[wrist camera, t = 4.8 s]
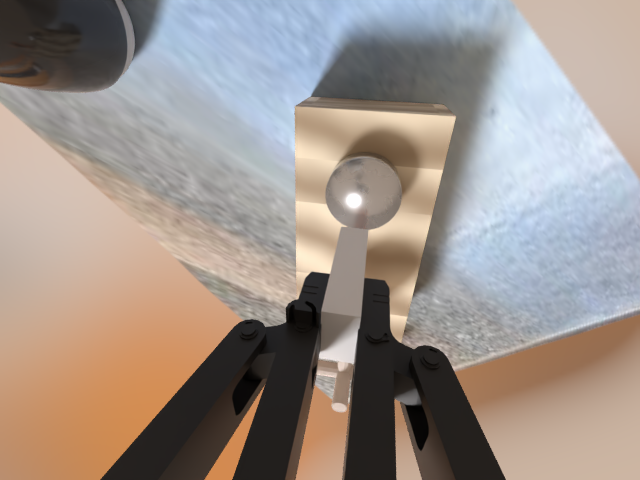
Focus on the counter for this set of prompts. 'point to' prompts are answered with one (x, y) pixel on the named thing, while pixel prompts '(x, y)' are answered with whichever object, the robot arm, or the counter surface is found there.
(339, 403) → the pipe connector
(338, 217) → the grey shiny disc
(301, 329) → the robot arm
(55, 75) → the pump dispenser
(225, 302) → the counter surface
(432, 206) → the panel housing
